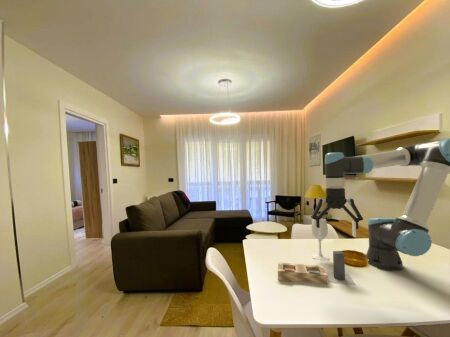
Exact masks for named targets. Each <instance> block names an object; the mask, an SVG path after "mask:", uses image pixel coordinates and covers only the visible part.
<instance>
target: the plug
mask: <svg viewBox="0 0 450 337" xmlns="http://www.w3.org/2000/svg"><path fill="white" fill-rule="evenodd" d="M332 262H333V267H332V268H333V273H334V278H335V279H337V280H345V274H346V270H345V268H346V266H345V264H346V263H345V252H343V251H341V250H333V251H332Z"/></svg>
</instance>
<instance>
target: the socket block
mask: <svg viewBox="0 0 450 337" xmlns="http://www.w3.org/2000/svg"><path fill="white" fill-rule="evenodd" d="M326 272H327V271H326V269H325V267H324V266H323V265H313V264H304V263H303V264H301V263H287V262H277V280H278V281H285V282H293V281H294V282H306V283H313V284H314V283H315V284H326V285H328V278H327V273H326Z"/></svg>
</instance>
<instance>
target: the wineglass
mask: <svg viewBox="0 0 450 337" xmlns="http://www.w3.org/2000/svg"><path fill="white" fill-rule="evenodd" d="M320 220H321V225H322V236H320V235H319V228H317V226H316V220H315V219H312V221H311V233H312V235H313V237H314V238H315V239H317V241H318V253H317V254H316V253H315V254H312V256H311V258H312V259H314V260H317V261H330V257H328V255H325V254H323V253H322V252H323V251H322V241H323V240H325V238H327V237H328V233H329V229H328V223H327V219H325V218H323V217H322V218H321V219H320Z"/></svg>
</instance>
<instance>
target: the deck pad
mask: <svg viewBox="0 0 450 337" xmlns="http://www.w3.org/2000/svg"><path fill="white" fill-rule="evenodd" d="M326 273H327V281H328V282H329V284H331V283H333V284H342V285H353V286H356V282H355V281H354V279H353V278H352V276H351V275H350V274H349V273H345V280H337V279H335V278H334V271H333V272H331V271H326Z"/></svg>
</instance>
